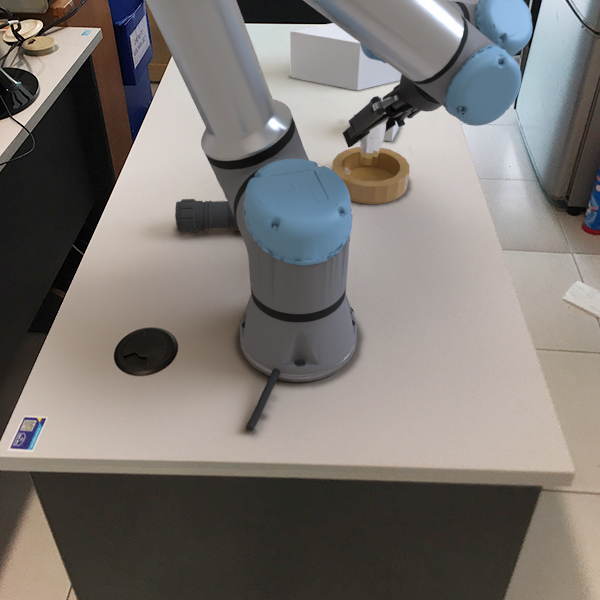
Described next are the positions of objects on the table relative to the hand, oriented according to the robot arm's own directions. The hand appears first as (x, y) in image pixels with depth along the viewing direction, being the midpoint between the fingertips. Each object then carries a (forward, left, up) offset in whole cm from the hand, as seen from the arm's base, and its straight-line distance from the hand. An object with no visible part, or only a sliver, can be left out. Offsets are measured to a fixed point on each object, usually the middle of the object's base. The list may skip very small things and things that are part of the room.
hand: (359, 135), depth 108 cm
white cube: (+15, +6, -8) cm, 18 cm away
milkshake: (-1, -4, -3) cm, 5 cm away
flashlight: (-27, +4, -8) cm, 28 cm away
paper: (+32, +27, -8) cm, 42 cm away
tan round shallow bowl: (-1, -4, -7) cm, 8 cm away
